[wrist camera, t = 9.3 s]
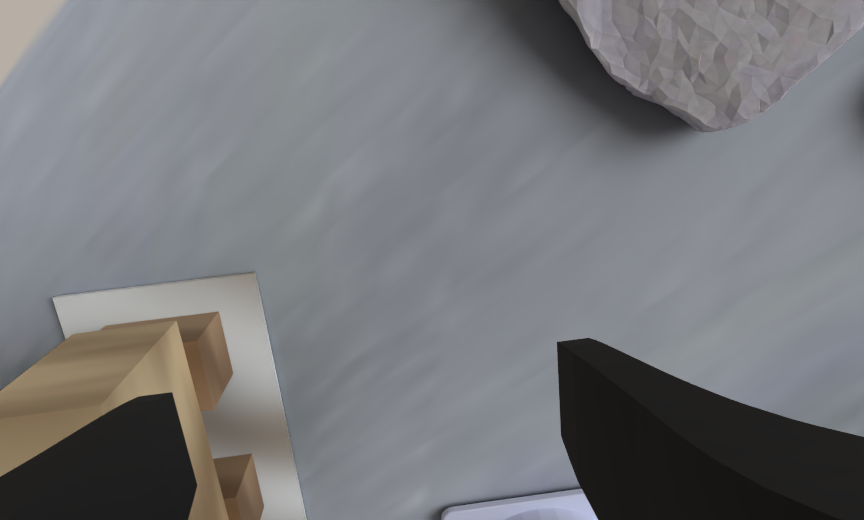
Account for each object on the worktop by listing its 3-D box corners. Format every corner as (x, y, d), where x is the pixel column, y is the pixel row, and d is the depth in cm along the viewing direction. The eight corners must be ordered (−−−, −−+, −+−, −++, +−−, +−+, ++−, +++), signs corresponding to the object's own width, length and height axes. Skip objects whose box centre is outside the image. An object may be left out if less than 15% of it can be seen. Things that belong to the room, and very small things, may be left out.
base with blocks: (307, 522, 24) (297, 575, 21) (136, 546, 23) (104, 604, 21) (255, 271, 20) (236, 298, 18) (55, 296, 20) (6, 326, 18)
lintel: (242, 572, 21) (200, 716, 16) (153, 585, 21) (84, 733, 16) (176, 320, 18) (100, 405, 13) (72, 334, 18) (-43, 424, 13)
